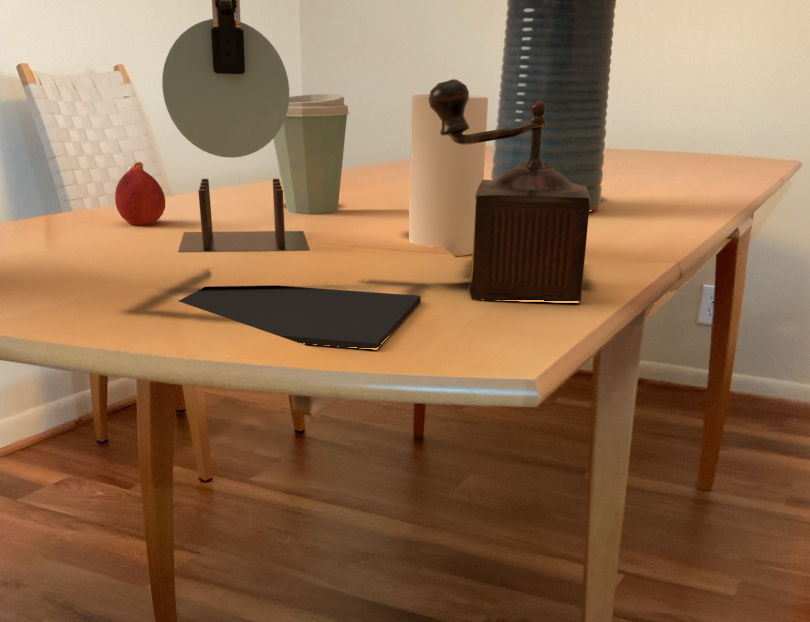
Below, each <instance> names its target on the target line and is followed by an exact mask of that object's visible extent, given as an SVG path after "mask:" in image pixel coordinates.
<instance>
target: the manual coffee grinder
mask: <svg viewBox="0 0 810 622" xmlns="http://www.w3.org/2000/svg"><path fill="white" fill-rule="evenodd" d="M429 94H430V95H429V99H428V100H429V104H430V107H431V108H432V109H433V110H434V111H435V112H436V114H437V115H438V116H439V118H440V119H441V121H442V129H441V131H440V134H441V135H448V136H450V137H451V139H452V140H453V141H454V142H455V143H458V144H461V145H467V144H475V143H480V142H486V143H487V142H492V141H494V140H498V139H504V138H510V137H516V136H520V135H522V134H524V133H526V132H528V131H530V130H532V138H531V153H530V159H529V161H528V163H520V164H519V165H518V166H516V167H515V168H513V169H512V170H509V171H508V172H506V173H504V174H502V175H501V176H500V177H499V178H498V179H497V180H492V179H484V180H482V181H481V183H480V185H479V187H478V190H477V192H476V194H475V199H476V207H475V222H474V238H473V254H471V270H470V280H469V281H470V282H469V284H468V285H469V286H468V292H470V293H469V295H471V296H470V299H471V298H472V299H471V300H474V299H484V300H544V301H580V302H581V300H582V297H583V293H582V292H583V291H582V286H583V278H584V269H585V262H586V261H585V260H586V258H585V257H586V250H587V249H586V248H587V239H588V229H589V217H590V215H589V214H590V212H589V205H590V197H589V193H588V190H587V187H586V185H585V183H574V182H571V181H569V180H568V179H567V178H566V177H564V176H563V175H562V174H561V173H560V172H558V171H556V170H555V169H554V168H553V167H551V166H550V165H547V164H542V161H541V159H540V151H541V137H542V128H543V127H544V126H546V121H545V119H544V117H543V115H544V113H545V110H546V105H545V104H544V102H542V101H537V102H534V104H533V106H532V107H531V109H532V114H533V117H532V118H531V119H530V123H529V124H525V125H521V126H518V127H515V128H506V129H499V130H495V129H493V130H486V132H480V133H475V134H467V135H463V132H465V131H466V130H468V129H469V125H468V124H467V122H466V120H465V118H464V111H465V106H466V104H467V102H468V99H469V95H470V91H469V89H468V86H467V85H466V84H465V83H463V82H462V81H460V80H459V79H456V78H455V79H454V78H452V79H449V80H445V81H442V82H438V83H437V84H436V85H435V86H434V87H433V88H432V89H431V90H430V92H429Z"/></svg>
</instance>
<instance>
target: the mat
mask: <svg viewBox="0 0 810 622" xmlns="http://www.w3.org/2000/svg"><path fill="white" fill-rule="evenodd" d="M421 298H422V296H421V295H418V294H417V295H415V294H403V293H388V292H375V291H363V290H362V291H361V290H346V289H333V288H320V287H307V286H293V285H292V286H291V285H281V284H280V285H278V284H276V285H275V284H274V285H269V284H268V285H267V284H266V285H218V286H216V285H215V286H213V285H211V286H203V287H202V288H199V289H198V290H196V291H194V292H191V293H190V294H188V295H186V296H184V297H183V298H180V299H178V302H179V303H183V304H185V305H187V306H191V307H194V308H196V309H198V310H199V309H200V310H202V311H205V312H208V313H210V314H214V315H216V316H220V317H223V318H226V319H228V320H231V321H234V322H237V323H240V324H243V325H246V326H249V327H251V328H254V329H258V330H260V331H263V332H266V333H267V334H268V333H269V334H272V335H275V336H277V337H280V338H283V339H285V340H289V341H292V342H294V343H297V344H300V343H302V344H301V345H303V343H305V344H317V345H330V346H339V347H357V348H377V347H379V346H380V345H381V343H382V342H383V341H384V340H385V339H386V338H387V337H388V336H389V335H390V334H391V333H392V332H393V331H394V330H395V329H396V328H397V327H398V326H399V327H400V325H402V324H403V322H404V321H406V319H407V318H408V317H409V316H410V314H412V312H413V311H414V310H415V309H416V308H417V307H418V305H420V304H421V300H422V299H421ZM415 307H416V308H415ZM407 316H408V317H407ZM406 317H407V318H406ZM405 318H406V319H405ZM403 320H404V321H403ZM399 327H398V328H399ZM398 328H397V329H398ZM397 329H396V330H397ZM396 330H395V331H396ZM395 331H394V332H395ZM394 332H393V333H394ZM393 333H392V334H393ZM392 334H391V335H392Z"/></svg>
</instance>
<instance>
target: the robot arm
mask: <svg viewBox="0 0 810 622" xmlns="http://www.w3.org/2000/svg"><path fill="white" fill-rule="evenodd" d="M211 6H212V7H211V11H212V19H213V29H211V37H212V55H213V70H214V72H215V73H218V74H244V72H245V57H244V32H243V30H241V22H242V21H241V0H211ZM218 24H219V26H218ZM235 24H236V30H235Z"/></svg>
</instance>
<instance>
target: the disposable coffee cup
mask: <svg viewBox="0 0 810 622" xmlns="http://www.w3.org/2000/svg"><path fill="white" fill-rule="evenodd" d="M348 115H350V113H349V106H348V105H347V104H345V97H344V96H343V95H342V94H338V93H337V94H336V93H335V94H334V93H333V94H332V93H331V94H330V93H309V94H301V95H300V94H299V95H290V96H289V106H288V110H287V115H286V117H285V120H284V123H283V125H282V127H281V128H280V130H279V132H278V133H277V134H276V136H275V137H274V138H273V139H272V141H273V145H274V150H275V155H276V160H277V164H278V172H279V176H280V182H281V186H282V190H283V198H284V201H285V207H286V211H287V212H288V213H292V214H296V215H297V214H299V215H326V214H334V213H337V212H338V211H339V202H340V192H341V182H342V181H341V180H342V173H343V172H342V171H343V162H344V161H343V160H344V152H345V151H344V150H345V139H346V130H347V119H348Z"/></svg>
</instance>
